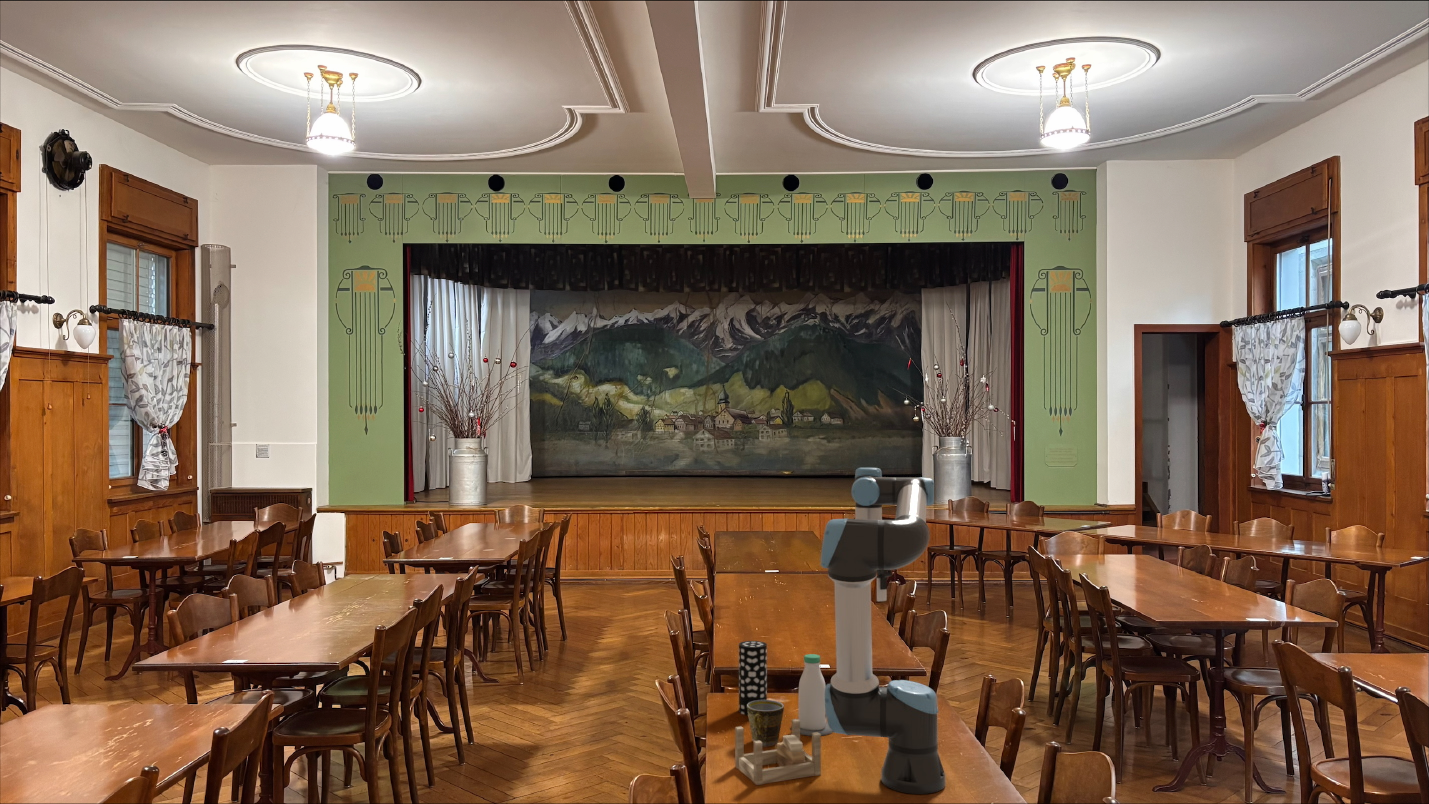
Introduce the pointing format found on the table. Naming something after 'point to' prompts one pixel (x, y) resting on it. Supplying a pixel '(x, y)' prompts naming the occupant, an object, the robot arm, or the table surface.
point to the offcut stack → (790, 751)
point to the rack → (775, 759)
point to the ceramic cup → (765, 721)
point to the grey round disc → (822, 732)
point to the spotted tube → (752, 673)
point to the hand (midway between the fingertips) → (868, 596)
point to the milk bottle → (812, 695)
